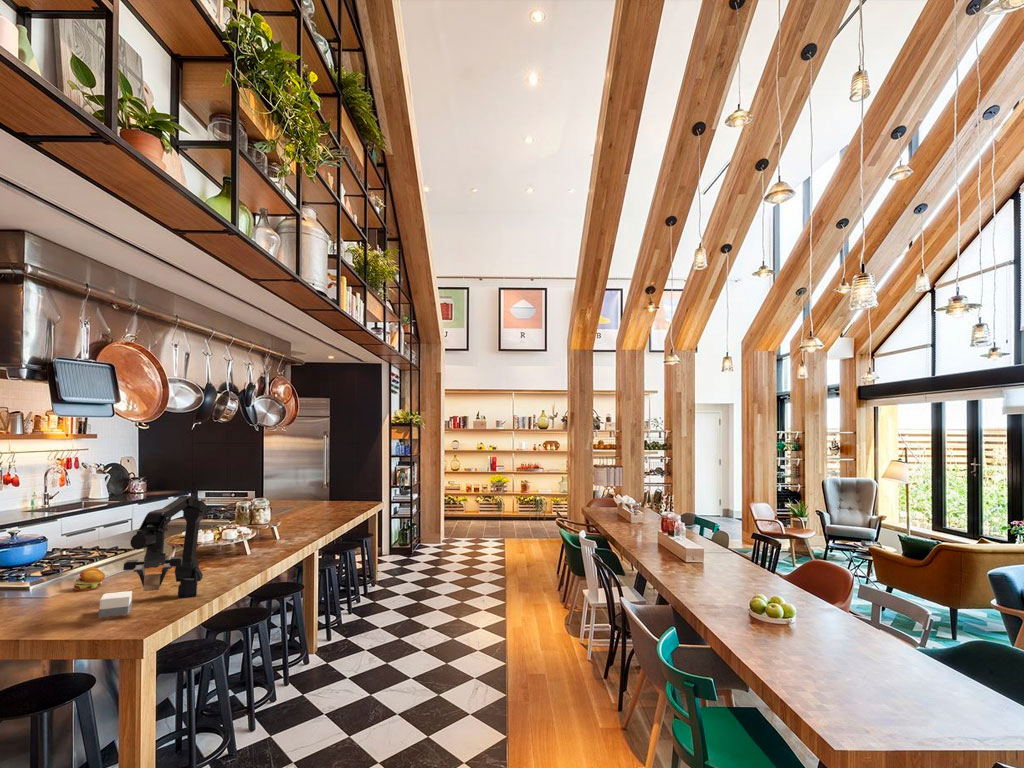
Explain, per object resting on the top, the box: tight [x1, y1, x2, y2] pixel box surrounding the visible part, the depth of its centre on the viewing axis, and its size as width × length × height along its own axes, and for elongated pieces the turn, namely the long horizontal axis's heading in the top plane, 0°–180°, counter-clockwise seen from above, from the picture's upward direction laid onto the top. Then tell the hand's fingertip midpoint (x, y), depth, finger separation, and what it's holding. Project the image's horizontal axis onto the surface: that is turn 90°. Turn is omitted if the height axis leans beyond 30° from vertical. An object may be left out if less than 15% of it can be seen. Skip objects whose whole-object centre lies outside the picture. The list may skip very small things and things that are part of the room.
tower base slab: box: [98, 599, 133, 619], centre depth 210 cm, size 9×9×4 cm
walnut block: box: [142, 573, 162, 592], centre depth 210 cm, size 5×5×5 cm
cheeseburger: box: [73, 567, 106, 592], centre depth 243 cm, size 10×11×10 cm
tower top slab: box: [99, 590, 133, 609], centre depth 211 cm, size 9×9×4 cm
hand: (152, 586), depth 210 cm, fingers closed on walnut block, 5 cm apart
